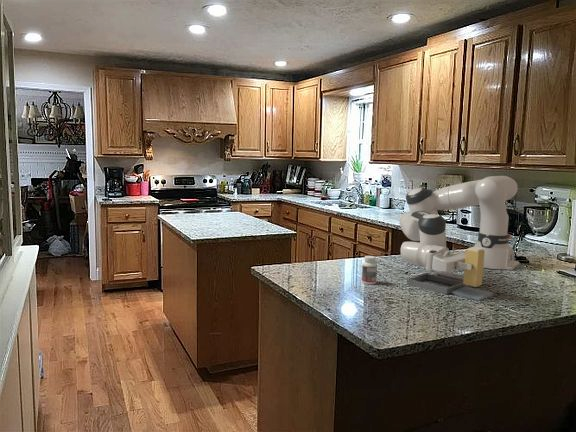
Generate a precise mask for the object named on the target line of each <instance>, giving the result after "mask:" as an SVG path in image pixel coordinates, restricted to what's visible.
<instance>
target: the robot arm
mask: <svg viewBox="0 0 576 432" xmlns="http://www.w3.org/2000/svg"><path fill="white" fill-rule="evenodd" d="M517 193H518V183H517V182H516V180H515V179H513V178H512V177H510V176H506V175H490V176H486V177H484V178H482V179H477V180H472V181H466V182H460V183H456V184H451V185H448V186H444V187H441V188H438V189H437V190H434V191H433V190H432V189H428V188H426V187H421V186H419V187H415V188H413V189H411V190H409V191H408V192H407V194H406V195H405V200H406V203H407V205H408V208H409V211H405V212H404V213H402V215H400V218H399V226H400V228H401V231H402V232H403V234H404V236H406V238H408V239H409V240H410V241H403V242H402V244H401V246H400V249H399V252H400V259H401V261H403V262H404V263H407V264H410V265H413V266H417V267H426V268H425V269H426V271H428V272H433V271H435V272H450V273H452V272H455V271H457V270H464V269H468V270H471V269H473V264H469V263H468V264H467V263H465V254H466V252H463V251H462V252H461V251H456V252H452V251H450V250H449V248H448V247H447V237H446V235H447V233H446V230H447V229H446V224H447V220H446V219H445V218H444V217H443V216H442V215H440V214H439V213H438V212H439V211H450V210H451V211H452V210H457V209H458V210H459V209H465V208H469V207H470V208H471V207H475V206H477V207H478V206H479V211H480V221H479V223H480V224H479V232H478V235H477V242H476V243H475V244H474V246H473V247H477V248H482V249H483V250H485V254H484V266H483V269H492V270H511V271H513V270H514V269H516V268H517V267H518V266H519V265H520V261H518V260H515V250H514V249H513V248H512V246H511V245H510V244H509V243H510V240H511V238H512V234H510V233H508V230H509V221H510V220H509V219H510V217H509V214H508V212H507V205H506V201H509V200H511V199H512V198H513V197H514V196H516V194H517Z"/></svg>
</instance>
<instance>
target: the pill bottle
mask: <svg viewBox="0 0 576 432" xmlns="http://www.w3.org/2000/svg"><path fill="white" fill-rule="evenodd" d="M363 260H364V261H363V262H362V264H361V265H362V266H361V282H362V283H363V284H364V285H375V284H376V283H377V278H378V277H377V275H378V264H377V262H376V256H373V255H365V256H364V259H363Z"/></svg>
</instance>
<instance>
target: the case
mask: <svg viewBox="0 0 576 432" xmlns="http://www.w3.org/2000/svg"><path fill="white" fill-rule="evenodd" d="M463 279H464V274H459V273H454V272H441V271H435V272H434V274H431V273H424V274H420V275H416V276H412V277H409V278H407V279H406V285H409V286H411V287H412V286H413V287H417V288H419V289H424V290H427V291H431V292H436V293H438V294H443V295H449V294H451V293H452V291H454V290H457V289H460V288H462V287H465V286H467V287H471V286H470V285H466V284H463ZM424 280H429V281H433V282H437V283H442V284H446V285H450V286H449V287H443V286H439V285H435V284H430V283H427V282H422V281H424Z"/></svg>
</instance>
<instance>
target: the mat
mask: <svg viewBox="0 0 576 432" xmlns="http://www.w3.org/2000/svg"><path fill="white" fill-rule="evenodd" d="M450 294H453V295H455V296H459V297H463V298H467V299H471V300H474V301H479V302H480V301H482V300H485V299H486V298H489V297H493V295H494V292H492V291H486V290H483V289H479V288H476V287H475V288H474V287H472V286H469V287H467V286H465V287H462V288H460V289H457V290H454V291H452V293H450Z"/></svg>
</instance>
